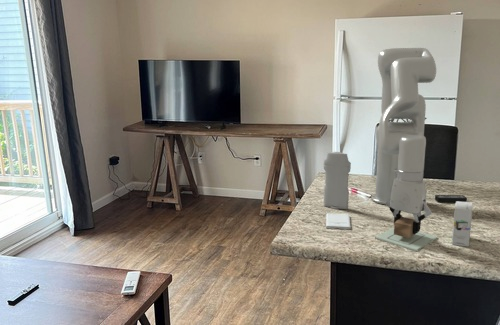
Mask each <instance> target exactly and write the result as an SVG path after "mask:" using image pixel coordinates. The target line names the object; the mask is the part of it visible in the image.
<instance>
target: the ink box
mask: <svg viewBox="0 0 500 325" xmlns="http://www.w3.org/2000/svg"><path fill="white" fill-rule="evenodd" d="M453 214H454V215H453V224H452V225H453V226H452V235H451V237H452V238H451V244H452V245H453V246H454V245H455V246H461V247H469V246H470V238H471V229H472V217H473V202H471V201H467V202H459V201H456V203H455V205H454V213H453Z"/></svg>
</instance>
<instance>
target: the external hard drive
mask: <svg viewBox="0 0 500 325" xmlns="http://www.w3.org/2000/svg"><path fill="white" fill-rule="evenodd" d="M325 216H326V217H325V218H326V219H325V220H326V222H325V228H326V229H330V230H331V229H332V230H351V217H350V214H348V213H332V212H331V213H330V212H329V213H327V212H326V215H325Z"/></svg>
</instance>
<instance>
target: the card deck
mask: <svg viewBox="0 0 500 325" xmlns="http://www.w3.org/2000/svg"><path fill="white" fill-rule="evenodd" d="M414 221H415V219H414V215H407V214H403V215H402V217H401V218H400V219H398V220H397V221H396V222H394V221H393V227H394V235H399V236H403V237H407V238H410V237H411V236H412V235H414V234H413V222H414Z"/></svg>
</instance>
